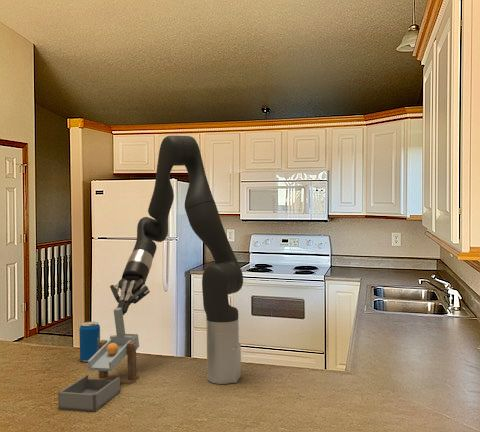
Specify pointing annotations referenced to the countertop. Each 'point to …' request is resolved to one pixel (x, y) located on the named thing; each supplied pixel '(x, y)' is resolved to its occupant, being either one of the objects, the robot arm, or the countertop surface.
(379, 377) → the countertop surface
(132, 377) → the stand
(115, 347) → the ball
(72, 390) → the shallow gray tray
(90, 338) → the beverage can
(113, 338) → the chute
